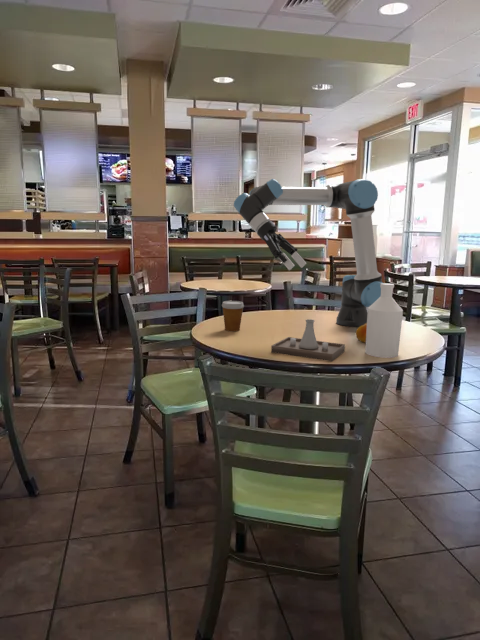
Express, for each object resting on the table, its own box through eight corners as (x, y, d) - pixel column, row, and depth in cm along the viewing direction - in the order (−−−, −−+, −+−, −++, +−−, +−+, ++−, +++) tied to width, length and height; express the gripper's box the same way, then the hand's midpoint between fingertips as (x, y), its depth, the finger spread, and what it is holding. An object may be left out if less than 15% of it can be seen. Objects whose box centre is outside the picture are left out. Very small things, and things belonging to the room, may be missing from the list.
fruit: (353, 339, 188) (354, 320, 187) (374, 340, 188) (376, 321, 186) (357, 344, 180) (359, 324, 178) (380, 345, 180) (381, 325, 178)
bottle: (362, 348, 174) (367, 281, 169) (394, 350, 173) (400, 282, 168) (367, 357, 162) (373, 285, 158) (402, 358, 161) (409, 286, 157)
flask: (320, 346, 169) (322, 319, 168) (316, 351, 163) (318, 322, 161) (301, 344, 172) (302, 317, 170) (296, 348, 165) (297, 320, 163)
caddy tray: (287, 343, 179) (288, 333, 179) (344, 351, 170) (345, 340, 169) (271, 352, 165) (271, 341, 165) (332, 361, 156) (332, 349, 155)
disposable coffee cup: (241, 333, 195) (241, 304, 193) (218, 331, 197) (219, 303, 195) (245, 328, 204) (246, 301, 202) (224, 327, 206) (224, 300, 204)
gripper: (269, 233, 197) (302, 270, 193) (243, 233, 175) (279, 275, 171) (281, 220, 194) (315, 258, 190) (256, 219, 172) (293, 261, 168)
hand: (298, 266), depth 181 cm, fingers open, 13 cm apart
